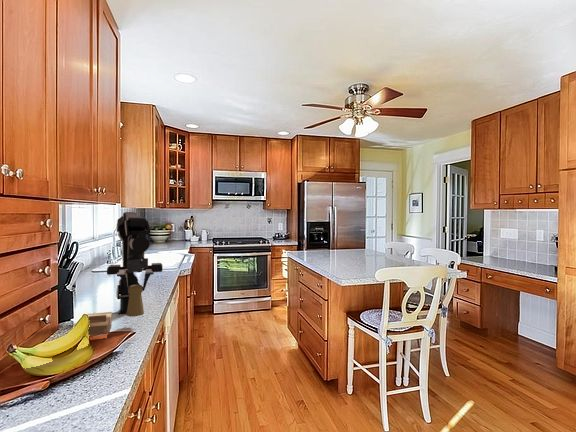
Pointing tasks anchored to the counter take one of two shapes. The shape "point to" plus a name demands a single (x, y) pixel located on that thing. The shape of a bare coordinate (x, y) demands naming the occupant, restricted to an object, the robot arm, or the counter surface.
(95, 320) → the lid
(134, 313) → the brown bottle
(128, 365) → the counter surface
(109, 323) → the toolbox
